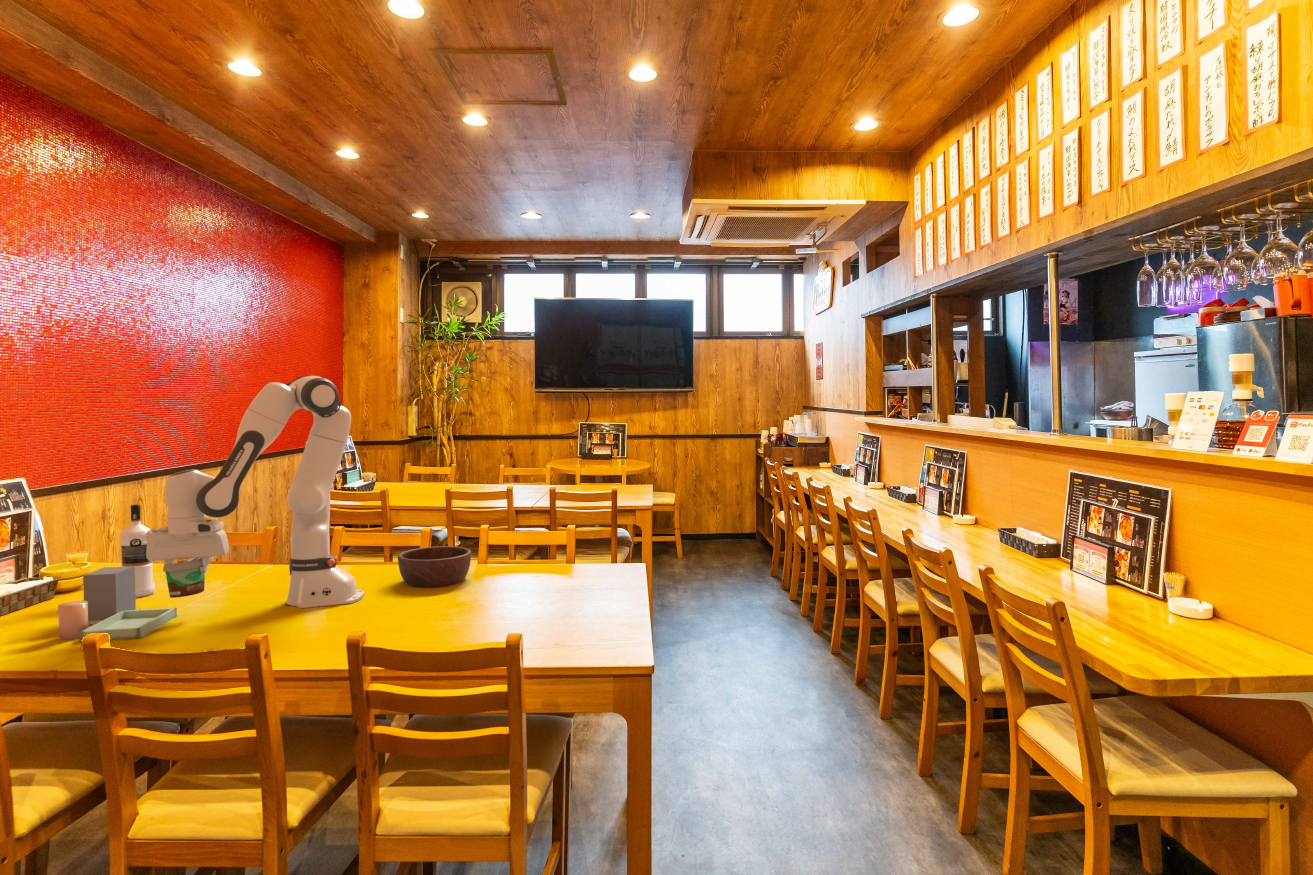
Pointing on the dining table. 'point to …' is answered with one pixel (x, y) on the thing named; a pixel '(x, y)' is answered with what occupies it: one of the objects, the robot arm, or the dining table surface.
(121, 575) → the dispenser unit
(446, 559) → the wooden bowl
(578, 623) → the dining table surface
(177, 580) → the food container
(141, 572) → the vodka
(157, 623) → the tray
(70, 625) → the canister
